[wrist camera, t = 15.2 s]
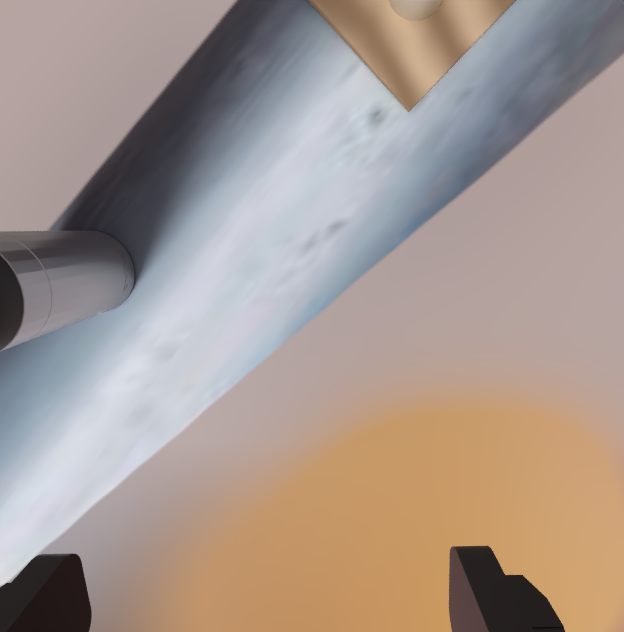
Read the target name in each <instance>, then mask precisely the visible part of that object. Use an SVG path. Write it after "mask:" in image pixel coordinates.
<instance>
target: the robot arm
mask: <svg viewBox="0 0 624 632" xmlns="http://www.w3.org/2000/svg"><path fill="white" fill-rule="evenodd" d="M134 278H135V277H134V267H133V263H132V260H131V258H130V256H129V254H128V252H127V251H126V249H125V248H124V247H123V245H121V244H120V243H119V242H118V241H117V240H116V239H114V238H113V237H111V236H109V235H107V234H105V233H102V232H98V231H7V232H6V231H4V232H0V351H2V350H5V349H7V348H10V347H13V346H15V345H18V344H21V343H23V342H26V341H28V340H31V339H34V338H36V337H39V336H42V335H44V334H47V333H50V332H52V331H55V330H58V329H60V328H63V327H66V326H68V325H71V324H74V323H76V322H79V321H82V320H84V319H87V318H90V317H93V316H95V315H98V314H101V313H103V312H106V311H109V310H111V309H114V308H116V307H117V306H119V305H121V304H122V303H123V302H124V301H125V300H126V299H127V297H128V296H129V295H130V293H131V290H132V288H133V284H134ZM449 613H450V621H451V628H452V632H565V630H564V626H563V625H562V623H561V621H560V620H559V618H558V616H557V615H556V613H555V611H554V610H553V608H552V606H551V605H550V603H549V601H548V599H547V598H546V597H545V596H544V595H543V594H542V593H541V592H539V590H538V589H537V588H535V587H534V586H533V585H532V584H531V583H530V582H529V581H528V580H527V579H526V578H525V577H524V576H523V575H505V574H504V572H503V570H502V569H501V566H500V564H499V562H498V560H497V558H496V557H495V555H494V553H493V551H492V549H491V548H490V547H489V546H462V547H461V546H458V547H451V549H450V574H449ZM90 624H91V606H90V601H89V597H88V592H87V587H86V582H85V578H84V573H83V568H82V563H81V559H80V557H79V556H78V555H77V554H42V555H38V556H36V557H35V558H33V559H32V560H31V561H30V562H29V563H28V565H27V566H26V567H25V568H24V569H23V570H22V571H21V572H20V574H19V575H18V576H17V577H16V578H15V579H14V580H13V581H12V582H11V583H6V584H5V585H3V586H2V587H1V588H0V632H89V629H90Z"/></svg>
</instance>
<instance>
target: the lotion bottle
mask: <svg viewBox="0 0 624 632" xmlns="http://www.w3.org/2000/svg"><path fill="white" fill-rule="evenodd" d="M441 2H442V0H389V3H390V5H391V7H392V9H393V11H394V12H395V13H396V14H397V15H398V16H400V17H401V18H403V19H405V20H409V21H419V20H423V19H425V18H427V17H429V16H430V15H432V14H433V13H434V12H435V11H436V10H437V9H438V7H439V6H440V4H441Z"/></svg>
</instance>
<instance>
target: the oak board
mask: <svg viewBox="0 0 624 632" xmlns="http://www.w3.org/2000/svg"><path fill="white" fill-rule="evenodd" d="M308 1H309V2H310V3H311V4H312V6H313V7H314V8H315V9H316V10H317V11H318V12H319V13H320V14H321V16H322V17H323V18H324V19H325V20H326V21H327V22H328V23H329V24H330V26H331V27H332V28H333V29H334V30H335V31H336V32H337V33H338V34H339V36H340V37H341V38H342V39H343V40H344V41H345V42H346V43H347V44H348V45H349V47H350V48H351V49H352V50H353V51H354V52H355V53H356V54H357V55H358V57H359V58H360V59H361V60H362V61H363V62H364V63H365V64H366V65H367V67H368V68H369V69H370V70H371V71H372V72H373V73H374V74H375V75H376V77H377V78H378V79H379V80H380V81H381V82H382V83H383V84H384V85H385V87H386V88H387V89H388V90H389V91H390V92H391V93H392V94H393V95H394V96H395V98H396V99H397V100H398V101H399V102H400V103H401V104H402V105H403V106H404V108H405V109H406V110H407V111H408V112H409V111H410V110H411V109H412V108H413V107H414V106H415V105H416V104H417V103H418V102H419V101H420V100H421V99H422V98H423V97H424V95H425V94H426V93H427V92H428V91H429V90H430V89H431V88H432V87H433V86H434V85H435V84H436V83H437V82H438V81H439V80H440V79H441V78H442V77H443V76H444V75H445V74H446V73H447V72H448V70H449V69H450V68H451V67H452V66H453V65H454V64H455V63H456V62H457V61H458V60H459V59H460V58H461V57H462V56H463V55H464V54H465V53H466V52H467V51H468V50H469V49H470V48H471V46H472V45H473V44H474V43H475V42H476V41H477V40H478V39H479V38H480V37H481V36H482V35H483V34H484V33H485V32H486V31H487V30H488V29H489V28H490V27H491V26H492V25H493V24H494V23H495V21H496V20H497V19H498V18H499V17H500V16H501V15H502V14H503V13H504V12H505V11H506V10H507V9H508V8H509V7H510V6H511V5H512V4H513V3H514V2H515V1H516V0H442V2H441V4H440V6H439V7H438V9H437V10H436V11H435V12H434V13H433V14H432V15H430V16H429V17H427V18H425V19H423V20H419V21H409V20H405V19H403V18H401V17H400V16H398V15H397V14H396V13H395V12H394V11H393V9H392V7H391V5H390V3H389V0H308Z"/></svg>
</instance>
